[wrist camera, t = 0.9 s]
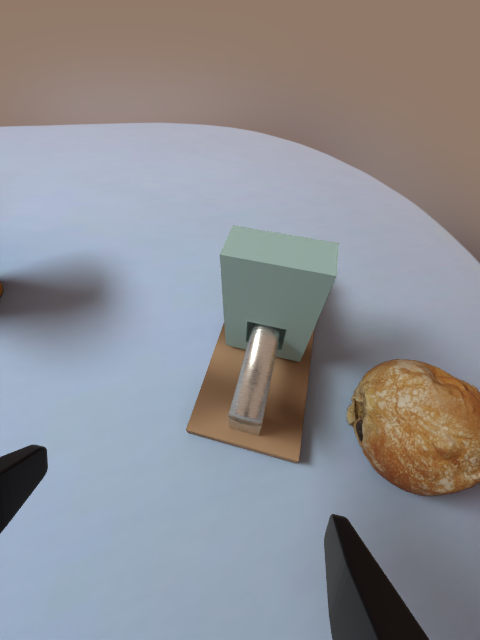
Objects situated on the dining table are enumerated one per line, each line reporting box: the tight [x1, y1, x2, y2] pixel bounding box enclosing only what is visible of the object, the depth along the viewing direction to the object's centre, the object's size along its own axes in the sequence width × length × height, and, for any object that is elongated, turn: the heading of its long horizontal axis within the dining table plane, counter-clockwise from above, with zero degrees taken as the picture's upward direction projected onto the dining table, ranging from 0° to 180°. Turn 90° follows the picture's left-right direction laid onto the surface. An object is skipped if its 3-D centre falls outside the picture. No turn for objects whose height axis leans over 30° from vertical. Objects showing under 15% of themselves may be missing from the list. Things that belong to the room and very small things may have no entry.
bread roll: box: [347, 359, 480, 496], centre depth 21 cm, size 10×10×8 cm
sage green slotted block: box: [220, 226, 339, 362], centre depth 21 cm, size 3×7×11 cm, turn 76°
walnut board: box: [186, 324, 314, 463], centre depth 27 cm, size 19×9×1 cm, turn 166°
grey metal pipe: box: [228, 323, 281, 436], centre depth 25 cm, size 18×3×5 cm, turn 166°
